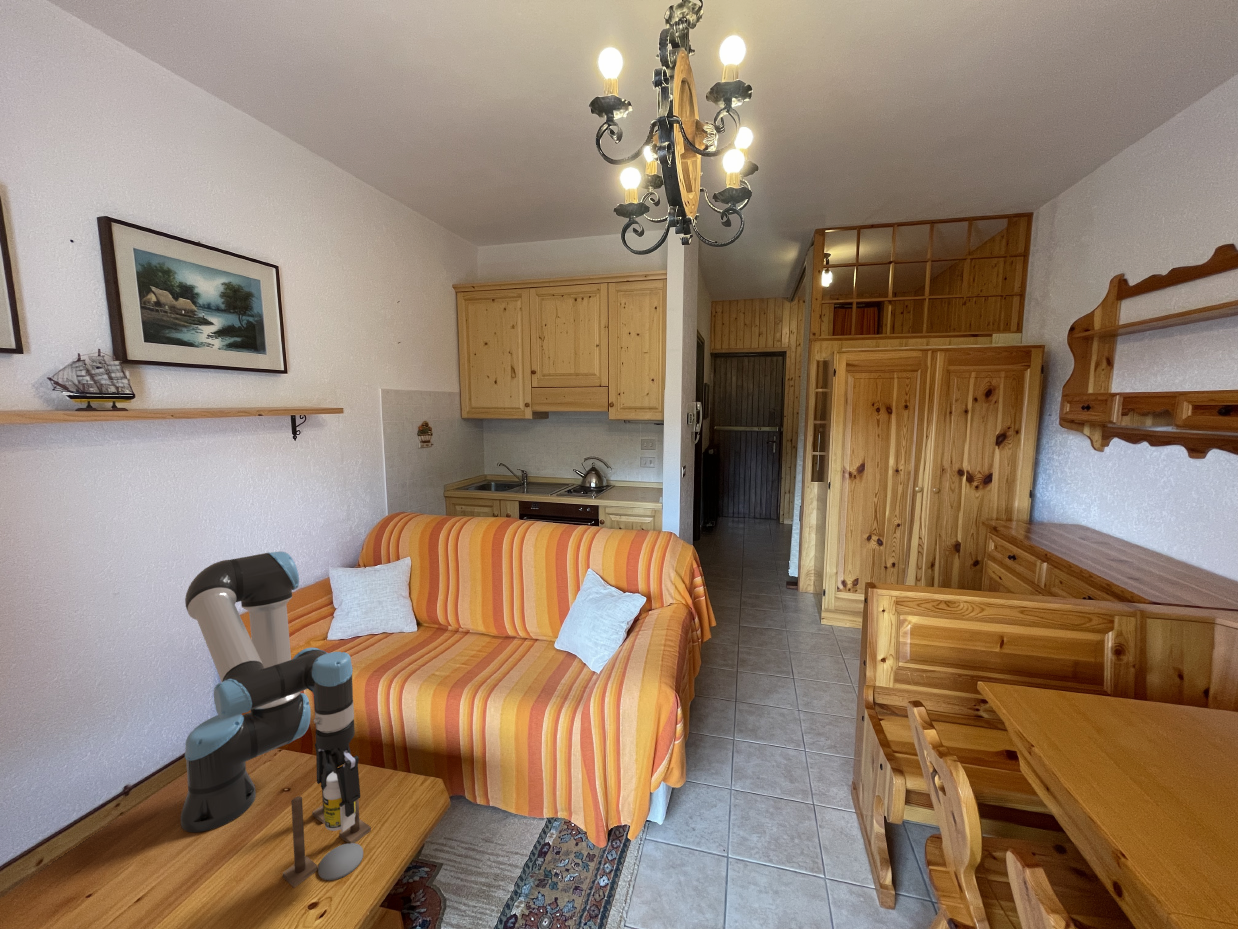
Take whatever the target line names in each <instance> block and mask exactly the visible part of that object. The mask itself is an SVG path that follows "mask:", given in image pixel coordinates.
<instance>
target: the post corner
mask: <svg viewBox="0 0 1238 929" xmlns="http://www.w3.org/2000/svg"><path fill="white" fill-rule="evenodd" d="M359 799H360V798H359ZM359 799H358V800H356V801H355V809H356V815H355V824H354V825H352V826H351V827H349V828H348V829H347V830H345V831H344V832H342V831H341V830H340V831H339V833H338V836H339V837H340V839H342V840H343V841H344V842H346V844H348V843H356V842H358V841H359V840H361V839H362V838H364V837H365V836H366V835H368V834H369V833H370V832H371V831H372V827H371V826H370V825H369V824H367V823H366V822H365V821H363V820H362V819H361V818H360V808H359V807H360V805H359V804H360V802H359Z"/></svg>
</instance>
